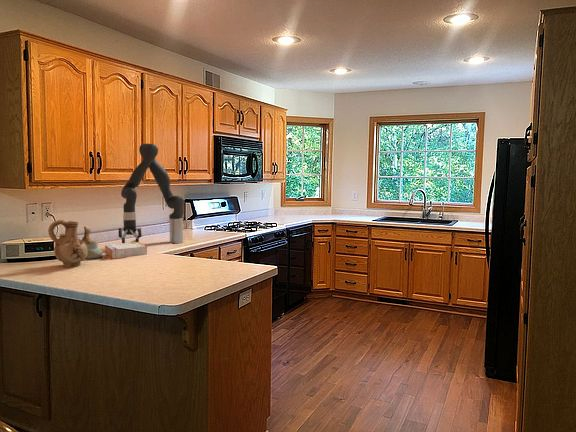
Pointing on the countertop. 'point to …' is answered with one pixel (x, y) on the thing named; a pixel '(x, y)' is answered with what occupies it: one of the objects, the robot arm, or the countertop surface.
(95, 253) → the air freshener
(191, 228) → the countertop surface
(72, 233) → the ceramic vessel
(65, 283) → the countertop surface
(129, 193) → the robot arm
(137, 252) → the cracker box
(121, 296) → the countertop surface
